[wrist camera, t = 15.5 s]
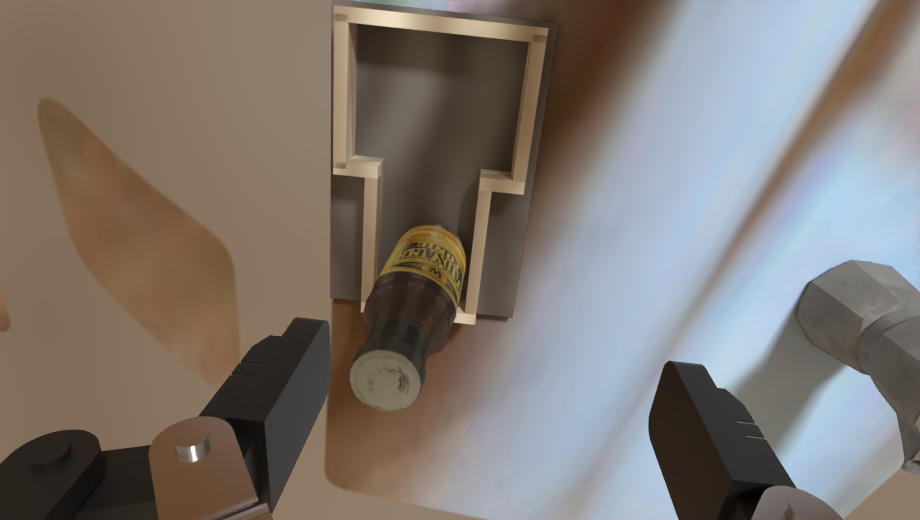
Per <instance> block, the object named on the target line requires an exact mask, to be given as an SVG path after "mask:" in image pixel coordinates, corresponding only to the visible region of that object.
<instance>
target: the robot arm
mask: <svg viewBox="0 0 920 520" xmlns="http://www.w3.org/2000/svg"><path fill="white" fill-rule="evenodd" d="M329 383H330V331H329V323H328V322H327V321H324V320H315V319H306V318H298V317H296V318H295V319H294V320H293V321H292V322H291V324H290V325H289V327H288V328H287V329H286V331H285V332H284V334H283V335H282V336H281V337H280V336H272V335H270V336H268V337H267V338H265V339H264V340H262V341H260V342H259V343H257V344H255V345H254V346H252V348H251V349H250V350H249V351H248V353H247V354H246V355H245V356H244V358H243V359H242V360H241V364H238V366H237V367H236V368H235V369H234V371H233V372H232V375H231V376H229V377H228V378H227V380H226V381H225V382H224V384H223V385H222V386H221V388H220V389H219V390H218V391H217V393H216V394H215V395H214V397H213V398H212V399H211V401H210V402H209V403H208V404H207V406H206V407H205V408H204V410H203V411H202V412H201V413H200V415H199V416H198V417H194V418H189V419H186V420H183V421H180V422H178V423H175V424H173V425H171V426H170V427H168V428H166V429H165V430H164V431H162V432H161V433H160V434H159V435H158V436H157V437H156V438H155V439H154V440H153V442H152V444H151V445H147V446H141V447H133V448H125V449H117V450H109V451H101V448H100V444H99V441H98V439H97V437H96V436H95V435H93V434H91V433H90V432H87V431H83V430H63V431H57V432H53V433H49V434H46V435H43V436H41V437H38V438H36V439H34V440H31V441H29V442H27V443H26V444H24V445H22V446H21V447H19V448H18V449H16V450H15V451H14V452H13V453H11V454H10V455H9V456H8V457H7V458H6V459H5V460H4V461H3V462H2V463H1V464H0V520H273V518H272V516H271V514H272V513H273V511H274V508H275V506H276V504H277V502H278V500H279V498H280V496H281V493H282V491H283V489H284V487H285V485H286V483H287V481H288V478H289V476H290V474H291V472H292V470H293V468H294V466H295V464H296V461H297V459H298V457H299V455H300V453H301V451H302V448H303V446H304V444H305V442H306V440H307V438H308V436H309V434H310V431H311V429H312V427H313V425H314V423H315V421H316V419H317V416H318V414H319V412H320V410H321V408H322V406H323V404H324V402H325V399H326V396H327V393H328V388H329ZM649 437H650V441H651V444H652V446H653V449H654V452H655V455H656V458H657V460H658V463H659V466H660V469H661V472H662V474H663V477H664V480H665V483H666V486H667V488H668V491H669V494H670V497H671V500H672V502H673V505H674V508H675V511H676V514H677V516H678V519H679V520H843V519H842V518H841V516H840V515H839V514H838V513H837V512H836V511H835V510H834V509H833V508H831V507H830V506H829V505H828V504H826V503H825V502H823V501H822V500H820V499H819V498H817V497H815V496H814V495H812V494H810V493H808V492H805V491H803V490H800V489H797V488H796V486H795V485H794V483H793V482H792V480H791V478H790V477H789V475H788V474H787V472H786V471H785V469H784V467H783V466H782V464H781V463H780V461H779V460H778V458H777V456H776V455H775V453H774V452H773V450H772V449H771V447H770V445H769V444H768V442H767V441H766V440H764V436H763V434H762V433H761V431H760V430H759V428H758V426H756V425H755V422H754V420H753V419H752V417H751V415H750V414H749V412H748V411H747V409H746V408H745V406H744V405H743V404H742V403H741V402H740V401H739V400H738V399H736V398H735V397H734V396H733V395H732V394H731V393H729V392H728V391H727V390H726V389H722V388H717V387H716V385H715V383H714V382H713V380H712V378H711V377H710V375H709V373H708V372H707V370H706V368H705V367H704V366H703V365H701V364H692V363H684V362H675V361H668V362H667V363H666V364H665V366H664V368H663V371H662V374H661V377H660V381H659V384H658V387H657V391H656V394H655V397H654V401H653V404H652V407H651V411H650V415H649Z"/></svg>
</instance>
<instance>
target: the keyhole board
mask: <svg viewBox="0 0 920 520" xmlns="http://www.w3.org/2000/svg"><path fill="white" fill-rule="evenodd" d="M558 24H559V23H552V22H542V21H533V20H524V19H514V18H505V17H496V16H486V15H477V14H468V13H458V12H449V11H440V10H430V9H421V8H412V7H402V6H393V5H384V4H374V3H365V2H356V1H346V0H332V27H331V28H332V29H331V30H332V31H331V34H332V35H331V36H332V37H331V40H332V41H331V42H332V43H331V251H330V256H331V257H330V261H331V262H330V298H339V299H348V300H357V301H361V312H363V311H364V307H365V303H366V300H367V298H368V297H369V295H370V293H371V291H372V288H373V286H374V284H375V282H376V280H377V278H378V277H379V275H380V273H381V271H382V270H383V268H384V266H385V264H386V263H387V261H388V259H389V257H390V255H391V254H392V252H393V250H394V248H395V246H396V245H397V243H398V241H399V240H400V238H401V237H402V236H403V235H404V234H405V233H406V232H407V231H409V230H411V229H412V228H414V227H416V226H418V225H421V224H423V223H430V224H432V223H434V224H439V225H443V226H446V227H449V228H450V229H451V230H452V231H453V232H455V233H456V235H457V236H458V237H459V239H460V240H461V242H462V244H463V246H464V248H465V255H466V268H465V273H464V278H463V283H462V288H461V293H460V299H459V304H458V309H457V314H456V318H455V320H454V323H463V324H472V325H475V320H476V314H484V315H493V316H502V317H512V318H513V312H514V305H515V299H516V293H517V286H518V280H519V273H520V267H521V261H522V254H523V248H524V241H525V235H526V229H527V222H528V216H529V209H530V203H531V197H532V190H533V184H534V177H535V171H536V165H537V158H538V152H539V145H540V139H541V133H542V126H543V120H544V113H545V107H546V101H547V94H548V88H549V81H550V75H551V69H552V62H553V56H554V49H555V43H556V37H557V30H558Z"/></svg>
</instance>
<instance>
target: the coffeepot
mask: <svg viewBox="0 0 920 520" xmlns="http://www.w3.org/2000/svg"><path fill="white" fill-rule="evenodd" d="M796 318H797V319H798V321H799V323H800V325H801V327H802V329H803V330H804V332H805V333H806V335H807V337H808V339H809V340H810V342H811V344H813V345H814V346H816V347H818V348H820V349H821V350H823V351H825V352H826V353H828V354H830V355H831V356H833V357H835V358H836V359H838V360H840V361H842V362H843V363H845V364H847V365H848V366H850V367H852V368H853V369H855V370H857V371H858V372H860V373H863V374H866V375H870V377H871V379H872V380H873V382H874V384H875V386H876V387H877V389H878V390H879V392H880V393H881V395H882V396H883V397H884V398H885V400H886V401H887V402H888V403H889V405H890V406H891V407H892V408H893V410H894V411H895V412H896V414H897V419H898V424H899V429H900V433H901V438H902V444H903V451H904V463H903V465H902V466H901V468H902V469H904V470H905V471H908V472H910V473H913V474H920V292H919V291H918V290H917V289H916V288H915V287H914V286H912V285H911V284H910V283H909V282H908V281H907V280H906V279H905V278H904V277H903V276H901V275H900V274H899V273H898V272H897V271H896V270H895V269H894V268H893V267H892V266H887V265H881V264H876V263H872V262H865V261H855V260H850V261H848V262H845V263H843V264H840V265H838V266H836V267H833V268H831V269H829V270H827V271H826V272H824V273H823V274H821V275H820V276H819V277H817V278H816V279H815V280H813V281H811V283H810V284H809V286H808V287H807V289H806V291H805V292H804V294H803V296H802V298H801V301H800V304H799V309H798V312H797V314H796Z"/></svg>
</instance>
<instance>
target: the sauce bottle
mask: <svg viewBox="0 0 920 520" xmlns="http://www.w3.org/2000/svg"><path fill="white" fill-rule="evenodd" d="M465 268H466V255H465V248H464V246H463V244H462V242H461V240H460V239H459V237H458V236H457V235H456V233H455V232H453V231H452V230H451V229H450V228H449V227H446V226H443V225H439V224H434V223H432V224H430V223H423V224H421V225H418V226H416V227H414V228H412V229H411V230H409V231H407V232H406V233H405V234H404V235H403V236H402V237H401V238H400V240H399V241H398V243H397V245H396V246H395V248H394V250H393V252H392V254H391V255H390V257H389V259H388V261H387V263H386V264H385V266H384V268H383V270H382V271H381V273H380V275H379V277H378V278H377V280H376V282H375V284H374V286H373V288H372V291H371V293H370V295H369V297H368V298H367V300H366V303H365V307H364V311H363V327H364V332H365V335H366V337H367V341H366V343H365V345H364V346H363V347H362V348H361V349H360V350H359V351H358V352H357V354H356V356H355V358H354V360H353V363H352V366H351V369H350V373H349V381H350V385H351V388H352V390H353V392H354V394H355V395H356V396H357V397H358V399H359V400H360V401H361V402H363V403H364V404H366V405H368V406H370V407H372V408H374V409H376V410H380V411H388V412H390V411H395V410H400V409H403V408H406V407H408V406H409V405H411V404H412V403H413V402H414V401H415V400H416V399H417V398H418V396H419V393H420V392H421V389H422V386H423V383H424V380H425V374H426V371H425V362H426V359H427V357H428V356H430V355H432V354H434V353H437V352H440V351H441V350H442V349H443V348H444V346H445V345H446V342H447V339H448V336H449V334H450V331H451V328H452V325H453V323H454V320H455V318H456V314H457V309H458V304H459V299H460V293H461V288H462V283H463V278H464V273H465Z"/></svg>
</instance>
